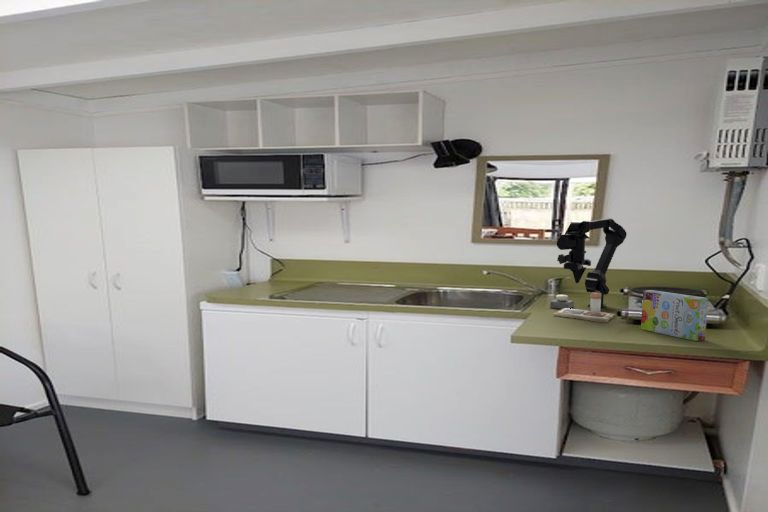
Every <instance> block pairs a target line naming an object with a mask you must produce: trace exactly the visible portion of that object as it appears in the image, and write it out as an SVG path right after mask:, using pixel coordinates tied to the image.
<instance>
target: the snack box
mask: <svg viewBox="0 0 768 512" xmlns="http://www.w3.org/2000/svg"><path fill="white" fill-rule="evenodd" d="M642 294H643V300H642V312H641V321H640V323H641V324H640V329H641V330H643V331H649V332H653V333H657V334H662V335H665V336H671V337H675V338H679V339H680V338H681V339H684V340H687V341H688V340H689V341H693V342H700V341H701V340H702V341H705V340H706V332H707V331H706V330H707V317H708V316H707V315H708V303H709V301H708V300H709V297H703V296H697V295H696V296H695V295H689V294H681V293H675V292H668V291H660V290H653V289H648V290H643V291H642Z"/></svg>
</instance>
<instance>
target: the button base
mask: <svg viewBox="0 0 768 512" xmlns="http://www.w3.org/2000/svg"><path fill="white" fill-rule="evenodd" d="M574 302H575V300H569V299H568V300H567V301H564V302H561V301H559V300H556V298H555V299H553V300H550V305H549V307H552V308H551V309H556V308H559V309H558V310H562V309H564V308H571V309H573V308H574ZM572 307H573V308H572Z"/></svg>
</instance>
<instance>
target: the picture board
mask: <svg viewBox="0 0 768 512" xmlns="http://www.w3.org/2000/svg"><path fill="white" fill-rule="evenodd" d="M553 315H554V316H553V317H559V316H561V317H560V318H566V317H569V318H568V319H574V318H576V320H582V319H583V321H589V320H590V321H591V322H597V323H607V322H609V321H610V320H611V319H613V318H614V317H615V316H616V313H613V312H612V313H611V312H610V313H609V312H604V311H603V312H602V311H600V315H591V314H590V310H587V309H578V308H571V309H570V308H564V309H559V310H558V311H555V312H554V313H553Z"/></svg>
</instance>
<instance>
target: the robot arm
mask: <svg viewBox="0 0 768 512" xmlns="http://www.w3.org/2000/svg"><path fill="white" fill-rule="evenodd" d="M597 229H598V230H599V229H602V232H603V233H604V234H605V235H604V240H605V245H604V247H603V250H602V252H601V255H600V257H599V259H598V262H597V264H596V266H595V268H594V270H592V271H588V272H587V274H586V277H585V278H584V286H585V291H586V292H587V293H591V292H598V293H601V308H604V307H606V304H604V303H605V296H606V295H608V294H609V293H610V288H609V287H608V285H606V283H607V278H606V273H607V271H608V268H609V267H610V264H611V262H612V260H613V257H614V255H615V253H616V250H617V248H618V247H619V246H621V244H623V243H624V242H625V240H626V238H627V235H628V234H627V231H626V229H624V227H623V226H622V225H621V224H619V223H618V222H616V221H615V220H614V219H612V218H606V217H603V218H601V219H594V220H589V221H588V220H587V221H586V220H572V221H570V224H569V225H568V227H567V229H566V231H565V232H564V234H563V233H562V234H560V235H559V236H560V237H558V239H557V241H556V246H557V249H559V250H560V251H566V250H569V251H568V254H564V253H561V254H558V255H557V262H559V265H561V264H562V265H563V269H564V270H569V271H571V272H572V275H573V278H574V281H575V283H576V284H579V283H580V281H581V278H582V277H583V275H584V273H585V271H586V270H587V267H590V266H592V261H591V260H590V259H587V258H585V254H586V253H587V250H585V248H586V239H589V236H588V234H587V233H589V232H590V231H592V230H597ZM584 266H585V267H584ZM586 266H587V267H586ZM590 302H591V299H590ZM587 306H588V307H590V303H589V304H588V305H587Z"/></svg>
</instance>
